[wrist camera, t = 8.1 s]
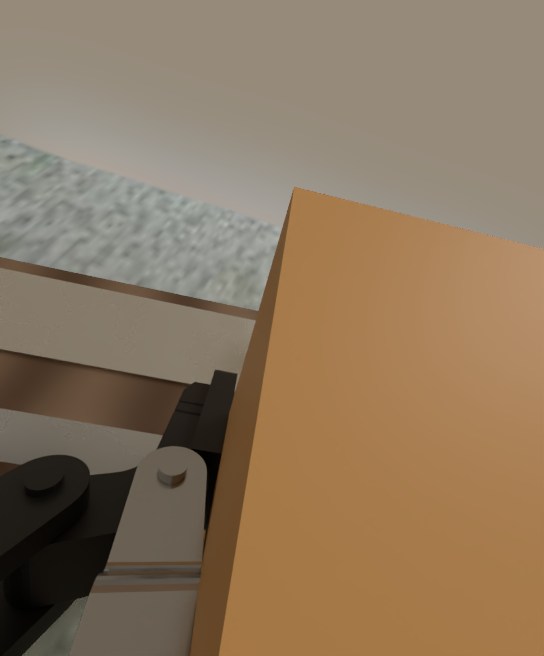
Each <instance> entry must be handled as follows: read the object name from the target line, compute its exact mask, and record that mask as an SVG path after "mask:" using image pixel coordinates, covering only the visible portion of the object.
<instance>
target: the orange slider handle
mask: <svg viewBox="0 0 544 656" xmlns="http://www.w3.org/2000/svg"><path fill="white" fill-rule="evenodd" d="M203 539H204V548H203V556H202V567H201V576H200V583H199V588H198V596H197V604H196V612H195V621H194V629H193V637H192V645H191V653H190V656H544V249H541V248H538V247H534V246H529V245H525V244H521V243H518V242H513V241H510V240H505V239H502V238H497V237H493V236H489V235H485V234H481V233H477V232H473V231H469V230H465V229H461V228H457V227H453V226H449V225H445V224H441V223H437V222H433V221H429V220H425V219H421V218H417V217H413V216H409V215H405V214H401V213H397V212H393V211H389V210H384V209H381V208H377V207H373V206H369V205H365V204H361V203H357V202H353V201H349V200H345V199H341V198H337V197H333V196H328V195H325V194H321V193H317V192H313V191H309V190H304V189H301V188H297V187H294V190H293V193H292V197H291V200H290V203H289V207H288V210H287V214H286V217H285V221H284V224H283V228H282V231H281V235H280V238H279V242H278V245H277V249H276V252H275V256H274V259H273V263H272V266H271V269H270V273H269V276H268V280H267V283H266V287H265V290H264V294H263V297H262V301H261V304H260V308H259V311H258V315H257V318H256V322H255V325H254V329H253V332H252V336H251V339H250V343H249V346H248V350H247V353H246V357H245V360H244V363H243V367H242V370H241V374H240V377H239V381H238V384H237V388H236V391H235V395H234V398H233V402H232V405H231V409H230V412H229V417H228V423H227V428H226V434H225V439H224V445H223V450H222V455H221V460H220V465H219V470H218V474H217V479H216V484H215V488H214V493H213V498H212V502H211V507H210V512H209V517H208V521H207V526H206V530H204V537H203Z"/></svg>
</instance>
